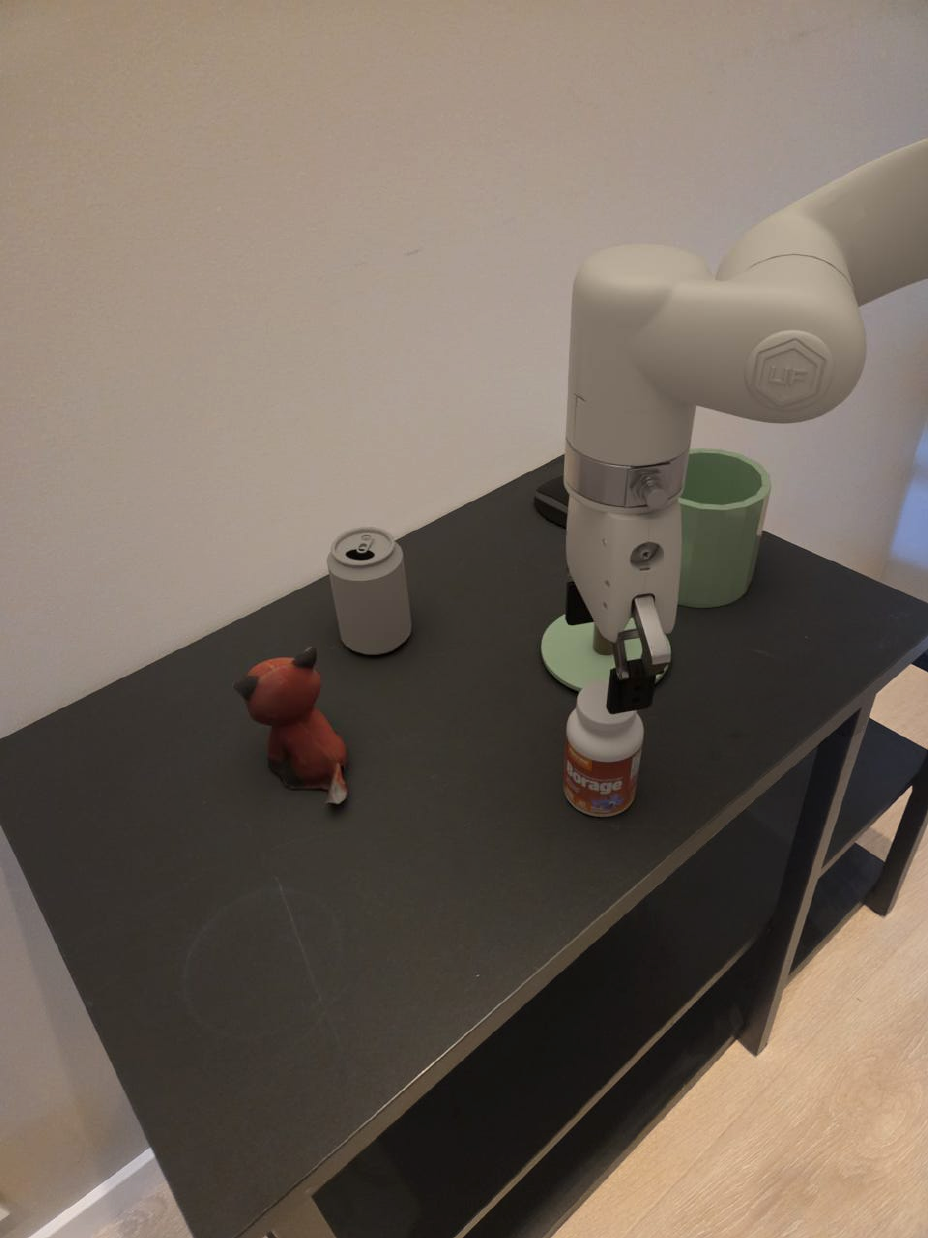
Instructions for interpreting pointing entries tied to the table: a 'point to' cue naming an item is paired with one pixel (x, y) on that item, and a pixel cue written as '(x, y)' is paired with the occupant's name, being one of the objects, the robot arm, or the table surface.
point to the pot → (720, 526)
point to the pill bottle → (601, 754)
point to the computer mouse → (553, 500)
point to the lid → (583, 653)
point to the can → (369, 590)
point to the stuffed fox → (295, 724)
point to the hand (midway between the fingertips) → (605, 662)
